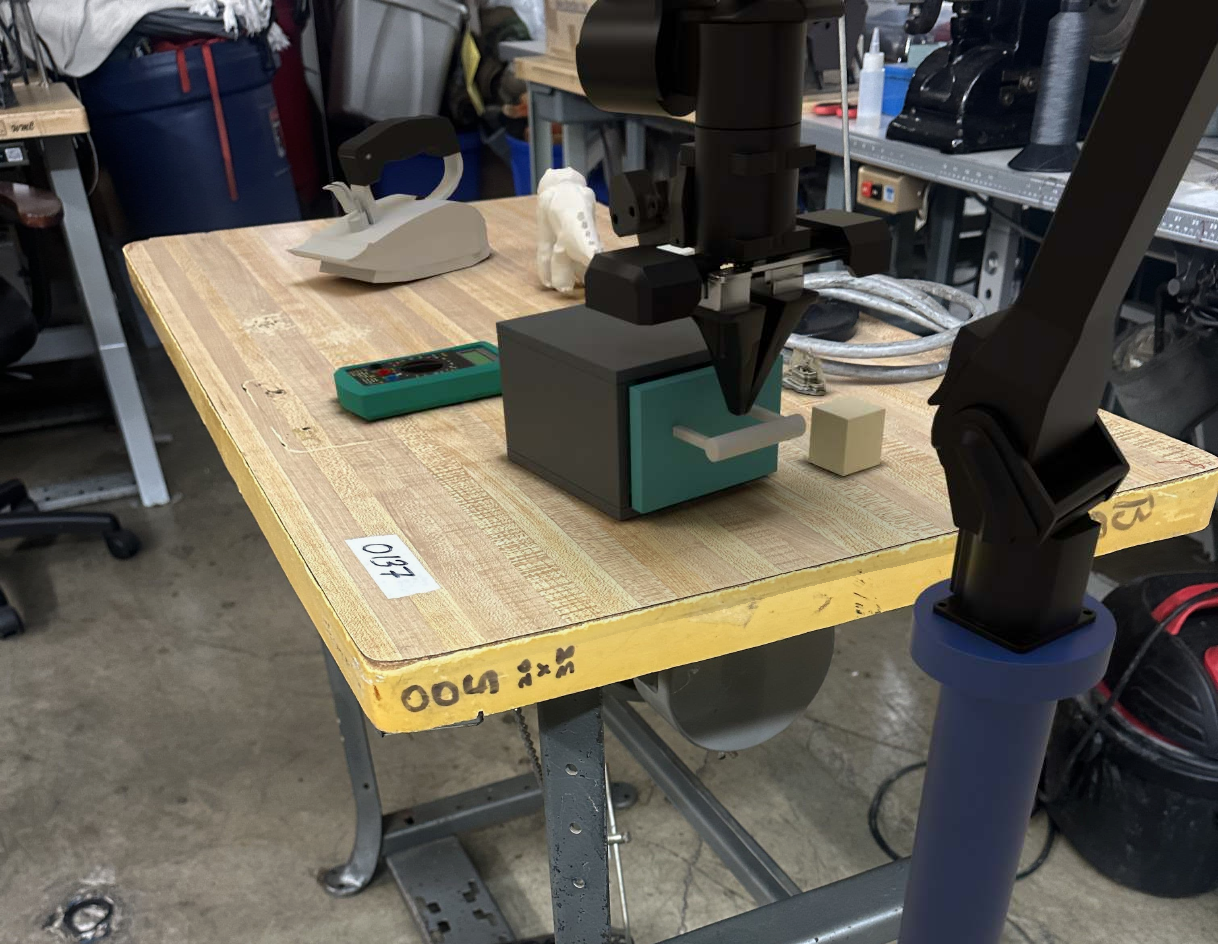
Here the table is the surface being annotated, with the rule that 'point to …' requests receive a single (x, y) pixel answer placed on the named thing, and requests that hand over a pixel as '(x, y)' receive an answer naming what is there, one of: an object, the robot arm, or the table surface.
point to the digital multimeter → (419, 380)
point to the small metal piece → (805, 373)
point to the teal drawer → (700, 435)
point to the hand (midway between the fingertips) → (738, 413)
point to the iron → (398, 210)
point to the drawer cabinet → (583, 394)
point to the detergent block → (846, 435)
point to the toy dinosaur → (565, 228)
